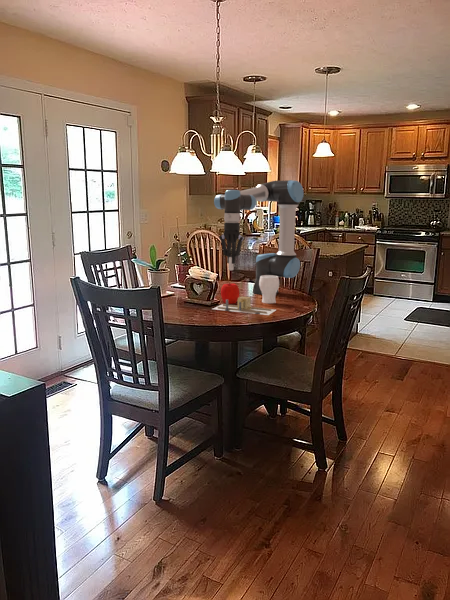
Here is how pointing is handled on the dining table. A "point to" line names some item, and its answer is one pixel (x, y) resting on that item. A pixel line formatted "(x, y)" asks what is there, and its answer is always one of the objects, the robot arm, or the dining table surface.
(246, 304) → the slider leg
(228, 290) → the apple
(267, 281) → the cup
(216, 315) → the dining table surface
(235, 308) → the board
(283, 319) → the dining table surface
